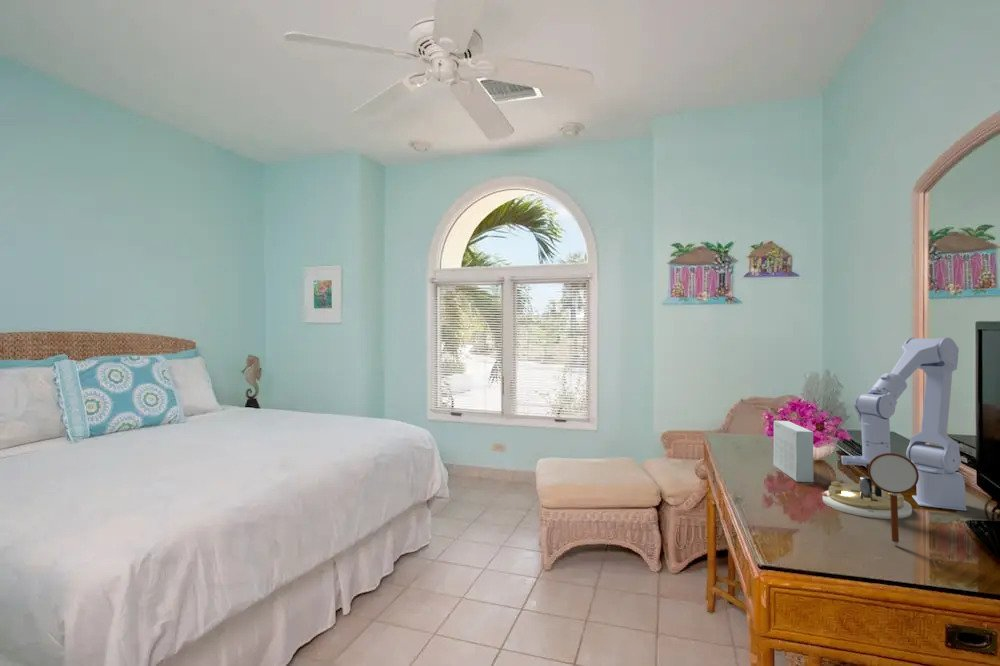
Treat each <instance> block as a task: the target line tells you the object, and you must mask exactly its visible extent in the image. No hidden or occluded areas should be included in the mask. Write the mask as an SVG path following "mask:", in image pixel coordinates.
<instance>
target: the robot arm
mask: <svg viewBox="0 0 1000 666" xmlns="http://www.w3.org/2000/svg"><path fill="white" fill-rule="evenodd" d="M958 362H959V347H958V345H957V343H956V341H954V340H953V339H952V338H951V337H943V338H942V337H941V338H940V337H939V338H937V337H935V338H931V337H930V338H927V337H925V338H924V337H922V338H921V337H918V338H915V337H909V338H907V339H906V340H905V341H904V343H903V344H902V346H901V356H900V357H899V360H898V361H897V362H896V364H895V365H894V366H893V368H892V370H891V372H888V373H887V372H885V373H883V374H881V375H880V377H879V378H878V379H877V381H876V382H875V383H874V384H873V386H872V387H871V388H870V389H869V390H868V391H867V392H866V393H862V394H860V395H858V396H857V397H856V400H855V403H854V405H853V406H854V407H853V408H854V410H855V412H856V413H857V420H858V422H860V427H861V429H860V431H861V452H862V454H861V455H841V464H842V465H843V466H848V465H849V466H850V465H852V466H863V467H864V466H865V467H866V469H867V470H868V466H869V463H870V462H871V460H872V459H873V458H875V457H876V456H878V455H881V454H885V453H892V452H891V426H890V418H891V417H892V416H893V415H894V414H895V411H896V406H897V403H898V399H899V398H900V397H901V395H902V394H903V393H904V392H905V390H906V389H907V387H908V383H907V382H906V381H907V379H908V378H910V377H911V376H912V375H913V374H914V373H915V372H916V370H918V369H920V370H922V371H923V372H924V374H926V376H925V387H924V388H925V389H924V397H923V408H922V417H921V418H922V419H921V429H920V431H919V432H918V433H916V434H914V435H912V436H910V440H909V443H908V446H907V448H906V452H905V455H906V456H905V457H906V458H908V459H909V460H910V461H911V462H912V463H913V464H914V465H915V466H916V468H917V470H918V474H919V479H918V482H917V484H916V486H915V488H916V495H911V498H913V500H914V502H916V504H917V505H918V506H921V507H929V508H938V509H939V508H941V509H947V510H955V511H956V510H957V511H964V512H965V511H967V510H968V509H967V506H966V505H967V504H966V502H967V500H966V483H965V478H964V475H963V474H962V472H957V471H958V470H959V468H960V467H961V463H962V457H961V453H960V444H959V443H958V442H956V440H954V439H953V438H952V437H950V436H949V435H948V426H949V425H948V424H949V415H950V402H951V393H952V381H953V372H954V371H956V370H957V369H958ZM928 443H930V444H928ZM934 444H935V445H934ZM874 486H875V495H876V496H878V497H882V492H881V489H880V488H878V487H877V486H876V485H875V484H874Z"/></svg>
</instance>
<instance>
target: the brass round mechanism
mask: <svg viewBox="0 0 1000 666" xmlns="http://www.w3.org/2000/svg"><path fill="white" fill-rule="evenodd" d="M858 482H859V483H855V482H854V483H853V482H851V483H850V482H840V481H837V480H835V481H831V482H830V485H829V486H828V490H829V497H830V498H832V499H833V500H835V501H837V502H840V503H843V504H846V505H850V506H854V507H859V508H865V509H873V510H891V505H890V495H891V493H889V492H886V491H883V490H881V492H882V497H878V496H876V495H875V485H874V484H873V482H872V481H871V479H870V477H869V476H859V481H858ZM896 495H897V505H898V509H901V508H903V507H904V501H905V498H904V495H903V494H902V493H899V494H896Z"/></svg>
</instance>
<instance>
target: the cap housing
mask: <svg viewBox="0 0 1000 666" xmlns="http://www.w3.org/2000/svg"><path fill="white" fill-rule="evenodd" d="M821 494H822V502H823V503H824V504H825V505H826V506H828V507H829V506H830V508H831V507H832V508H831V509H833V510H837V511H839V512H842V513H847V514H848V515H849V514H850V515H853V516H860V517H865V518H872V519H873V518H874V519H881V520H882V519H884V520H887V519H888V520H891V510H873V509H865V508H859V507H854V506H850V505H846V504H843V503H840V502H837V501H835V500H833V499H832V498H830V497H829V489H828V490H825V491H823V492H821ZM912 509H913V506H912V504H911V503H910V502H908V501H906V500H904V507H903V508H901V509H898V520H899V519H905V518H909V517H911V516H912V514H913V510H912Z"/></svg>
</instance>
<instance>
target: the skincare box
mask: <svg viewBox="0 0 1000 666" xmlns="http://www.w3.org/2000/svg"><path fill="white" fill-rule="evenodd" d="M772 461H773V462H772V463H773V464H772V465H773V466H774V467H775V468H777V469H778V470H780V471H781V472H782V473H784V474H785V475H787V476H788V477H789V478H791V479H792V480H793V481H795V482H797V483H798V482H800V483H814V431H812V430H809V428H806V427H803V426H800V425H798V424H796V423H793V422H792V421H789V420H773V460H772Z"/></svg>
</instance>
